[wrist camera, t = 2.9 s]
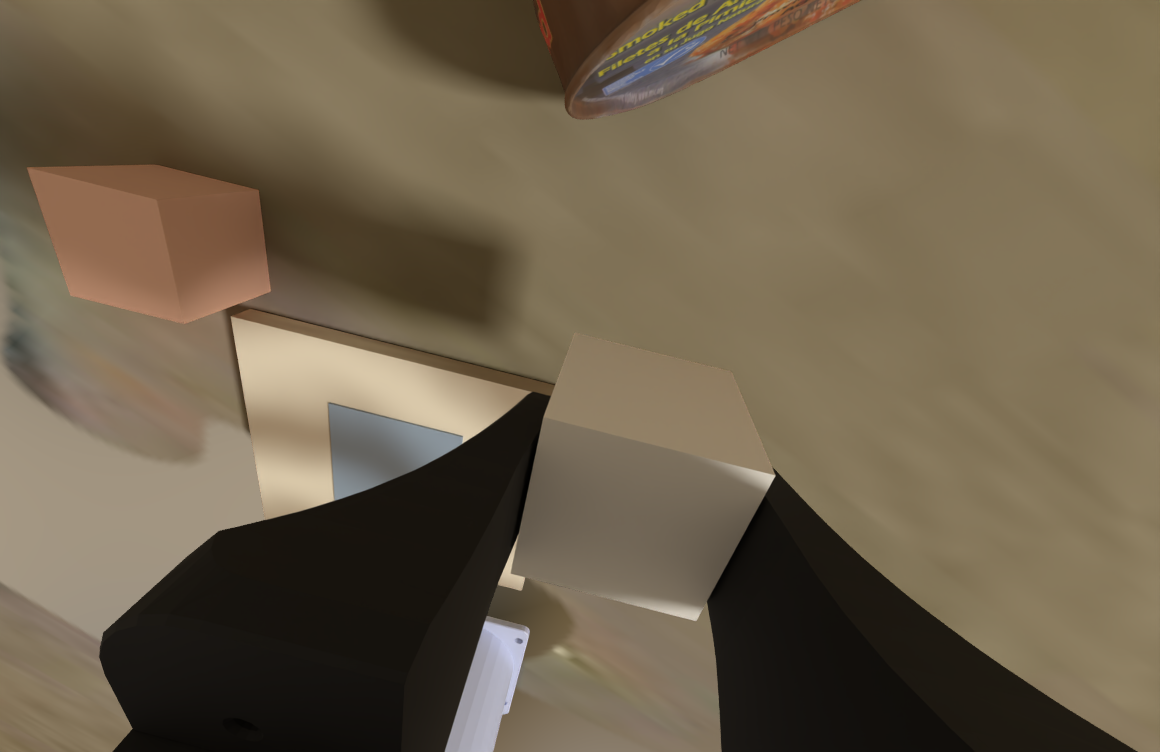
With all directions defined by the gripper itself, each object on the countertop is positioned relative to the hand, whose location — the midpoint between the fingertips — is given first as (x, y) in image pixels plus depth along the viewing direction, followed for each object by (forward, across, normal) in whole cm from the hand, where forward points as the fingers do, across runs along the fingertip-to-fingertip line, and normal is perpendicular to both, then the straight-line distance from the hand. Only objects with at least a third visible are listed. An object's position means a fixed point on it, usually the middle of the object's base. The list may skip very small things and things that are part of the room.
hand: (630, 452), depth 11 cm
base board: (+8, +9, +9) cm, 15 cm away
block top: (+8, +17, 0) cm, 19 cm away
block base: (+2, 0, 0) cm, 2 cm away
